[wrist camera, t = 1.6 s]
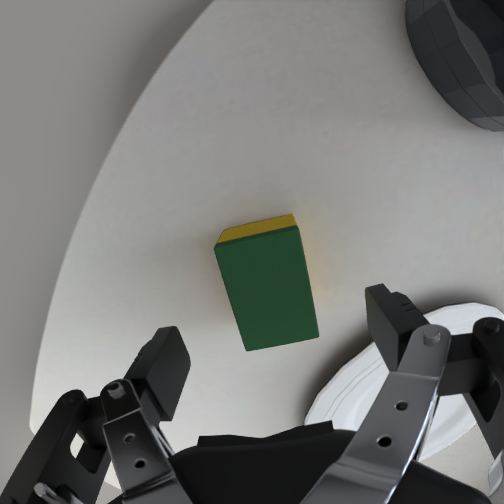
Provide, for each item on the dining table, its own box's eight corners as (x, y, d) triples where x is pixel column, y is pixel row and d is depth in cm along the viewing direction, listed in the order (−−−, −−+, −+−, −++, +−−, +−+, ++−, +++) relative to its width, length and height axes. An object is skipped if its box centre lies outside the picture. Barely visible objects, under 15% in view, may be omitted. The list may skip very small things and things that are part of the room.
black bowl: (378, -27, 11) (404, -65, 6) (495, -3, 10) (528, -20, 5) (436, 135, 15) (485, 133, 10) (538, 130, 13) (580, 133, 8)
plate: (263, 449, 23) (262, 465, 22) (386, 251, 17) (398, 262, 15) (420, 462, 25) (424, 473, 23) (532, 323, 18) (543, 333, 16)
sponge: (223, 229, 17) (213, 247, 14) (292, 213, 17) (298, 228, 13) (249, 319, 19) (245, 351, 16) (311, 306, 18) (319, 337, 15)
